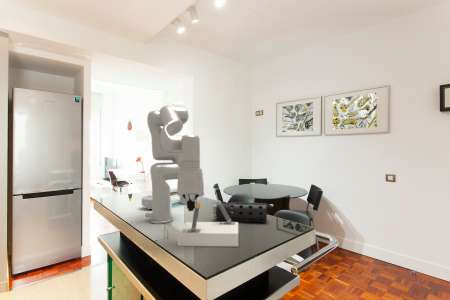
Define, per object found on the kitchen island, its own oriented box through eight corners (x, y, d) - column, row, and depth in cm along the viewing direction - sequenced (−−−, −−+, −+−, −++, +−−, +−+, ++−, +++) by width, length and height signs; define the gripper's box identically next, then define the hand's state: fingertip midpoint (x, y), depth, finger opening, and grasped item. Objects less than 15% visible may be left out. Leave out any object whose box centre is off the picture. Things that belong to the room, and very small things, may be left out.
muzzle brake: (266, 225, 123) (266, 204, 123) (212, 222, 129) (212, 203, 129) (266, 220, 133) (266, 201, 133) (216, 218, 138) (216, 199, 138)
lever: (228, 224, 107) (216, 203, 108) (228, 222, 111) (216, 201, 111) (231, 222, 107) (219, 201, 108) (231, 220, 111) (219, 199, 111)
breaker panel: (177, 245, 96) (177, 232, 96) (186, 232, 112) (186, 221, 112) (238, 246, 95) (238, 233, 95) (238, 233, 111) (238, 221, 111)
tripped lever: (190, 230, 97) (195, 204, 97) (192, 228, 101) (196, 202, 101) (194, 231, 97) (199, 204, 97) (196, 228, 101) (200, 203, 101)
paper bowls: (159, 211, 155) (159, 199, 155) (137, 210, 158) (137, 198, 158) (168, 206, 170) (168, 195, 170) (148, 205, 173) (148, 194, 173)
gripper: (170, 166, 96) (170, 212, 96) (207, 165, 95) (208, 212, 95) (175, 165, 104) (175, 208, 103) (209, 164, 103) (210, 208, 102)
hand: (191, 210), depth 99 cm, fingers closed
